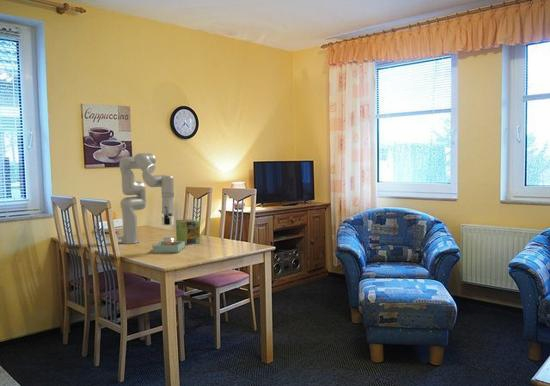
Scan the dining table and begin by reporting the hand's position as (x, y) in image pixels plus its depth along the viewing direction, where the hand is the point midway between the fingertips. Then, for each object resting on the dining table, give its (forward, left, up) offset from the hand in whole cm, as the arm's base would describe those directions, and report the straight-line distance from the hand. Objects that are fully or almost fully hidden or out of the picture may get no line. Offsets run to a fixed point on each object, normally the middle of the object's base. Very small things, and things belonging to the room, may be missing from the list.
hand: (168, 223), depth 296 cm
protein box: (+5, +28, -18) cm, 34 cm away
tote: (0, 0, -17) cm, 17 cm away
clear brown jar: (0, 0, -16) cm, 16 cm away
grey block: (0, 0, -1) cm, 1 cm away
